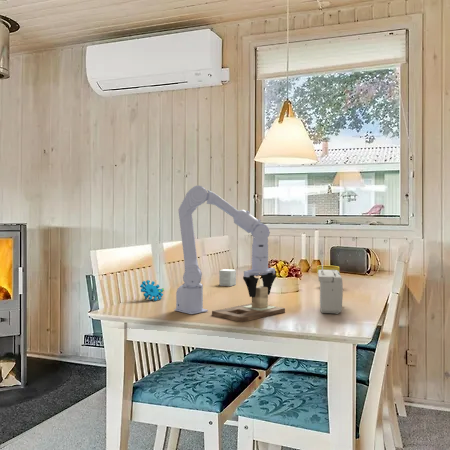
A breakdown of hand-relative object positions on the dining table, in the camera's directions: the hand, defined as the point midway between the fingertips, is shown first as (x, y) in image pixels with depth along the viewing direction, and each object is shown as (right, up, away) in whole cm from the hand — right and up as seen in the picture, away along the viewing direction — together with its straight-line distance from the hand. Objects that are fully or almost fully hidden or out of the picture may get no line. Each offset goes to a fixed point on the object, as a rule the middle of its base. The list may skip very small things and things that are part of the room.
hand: (259, 295), depth 172 cm
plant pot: (+36, -4, +55) cm, 65 cm away
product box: (-11, -4, +59) cm, 60 cm away
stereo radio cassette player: (+26, -6, +6) cm, 27 cm away
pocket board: (-4, -6, -4) cm, 8 cm away
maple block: (0, -4, 0) cm, 4 cm away
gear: (-41, -5, +22) cm, 47 cm away
